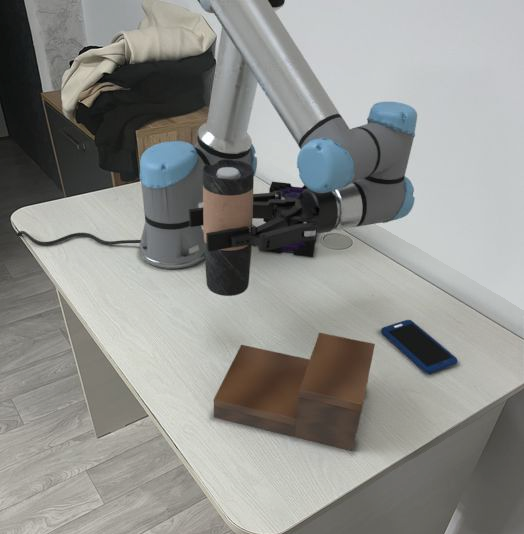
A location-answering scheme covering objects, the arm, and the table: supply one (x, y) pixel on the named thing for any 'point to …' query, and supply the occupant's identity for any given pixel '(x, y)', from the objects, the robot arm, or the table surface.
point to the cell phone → (419, 346)
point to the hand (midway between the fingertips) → (198, 229)
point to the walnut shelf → (299, 390)
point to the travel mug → (227, 223)
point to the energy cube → (287, 192)
